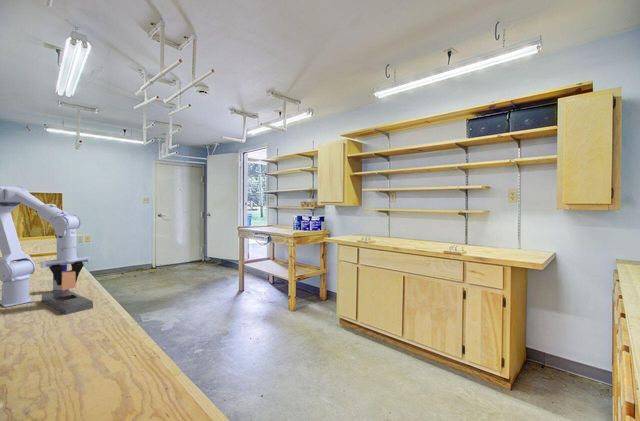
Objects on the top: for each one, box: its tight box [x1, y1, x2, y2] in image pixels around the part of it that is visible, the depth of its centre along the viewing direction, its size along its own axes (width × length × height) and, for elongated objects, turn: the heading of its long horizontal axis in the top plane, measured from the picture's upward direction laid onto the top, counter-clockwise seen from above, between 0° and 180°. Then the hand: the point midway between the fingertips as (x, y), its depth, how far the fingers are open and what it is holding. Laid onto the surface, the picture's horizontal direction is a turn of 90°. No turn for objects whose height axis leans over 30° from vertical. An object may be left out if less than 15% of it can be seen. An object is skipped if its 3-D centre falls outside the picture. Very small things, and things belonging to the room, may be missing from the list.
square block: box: [58, 269, 77, 290], centre depth 114 cm, size 4×4×6 cm
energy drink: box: [52, 264, 70, 293], centre depth 131 cm, size 5×5×12 cm
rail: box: [41, 289, 94, 315], centre depth 114 cm, size 24×8×2 cm, turn 57°
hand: (66, 283), depth 114 cm, fingers closed on square block, 4 cm apart
